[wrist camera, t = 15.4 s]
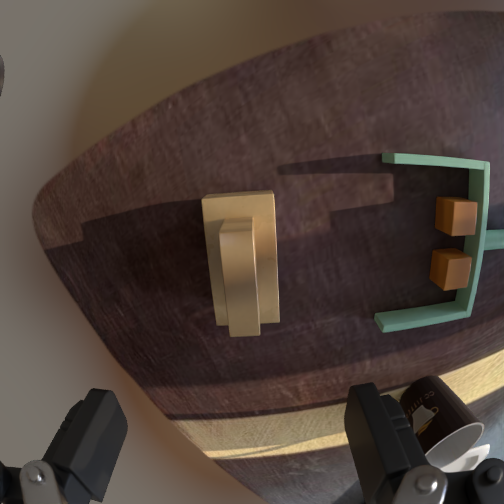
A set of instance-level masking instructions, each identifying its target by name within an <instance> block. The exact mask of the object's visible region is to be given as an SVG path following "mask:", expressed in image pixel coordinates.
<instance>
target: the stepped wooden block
mask: <svg viewBox="0 0 504 504" xmlns="http://www.w3.org/2000/svg"><path fill="white" fill-rule="evenodd" d="M201 202H202V212H203V221H204V230H205V239H206V248H207V256H208V265H209V273H210V281H211V288H212V296H213V303H214V311H215V318H216V325H217V326H219V325H228V326H229V334H230V337H239V336H259V335H260V324H261V323H277V322H280V318H279V290H278V266H277V244H276V224H275V205H274V194H273V192H272V190H261V191H246V192H233V193H220V194H208V195H206V196H205V197H204V198H202V199H201Z"/></svg>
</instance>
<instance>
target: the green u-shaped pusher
mask: <svg viewBox="0 0 504 504" xmlns="http://www.w3.org/2000/svg"><path fill="white" fill-rule="evenodd" d="M382 162H384V163H394V164H417V165H433V166H447V167H459V168H469V193H468V200H472V201H475V202H477V216H476V227H475V235H465V243H464V251H463V253H465V254H467V255H469V256H470V257H472V261H471V267H470V273H469V279H468V284H467V287H464V288H458V289H457V293H456V298H455V301H452V302H446V303H440V304H434V305H428V306H422V307H416V308H409V309H402V310H395V311H388V312H380V313H375V317H374V320H375V322H376V323H377V325H378V326H379V328H380V329H381V331H382V332H383V333H385V332H391V331H398V330H404V329H410V328H415V327H421V326H426V325H431V324H437V323H442V322H446V321H451V320H456V319H460V318H464V317H470V315H471V311H472V307H473V303H474V298H475V294H476V289H477V285H478V279H479V274H480V269H481V263H482V257H483V250H492V249H503V248H504V229H500V230H486V225H487V215H488V201H489V173H490V163H489V162H486V161H478V160H470V159H461V158H452V157H441V156H430V155H416V154H399V153H382Z"/></svg>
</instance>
